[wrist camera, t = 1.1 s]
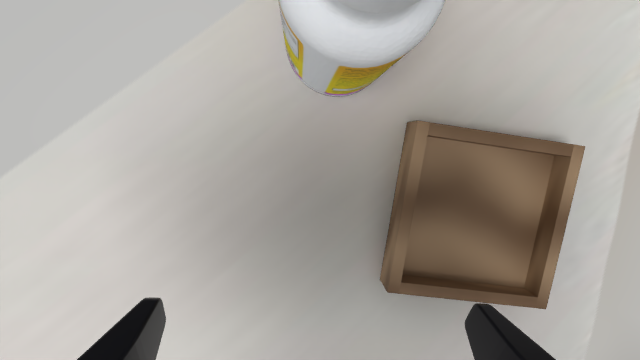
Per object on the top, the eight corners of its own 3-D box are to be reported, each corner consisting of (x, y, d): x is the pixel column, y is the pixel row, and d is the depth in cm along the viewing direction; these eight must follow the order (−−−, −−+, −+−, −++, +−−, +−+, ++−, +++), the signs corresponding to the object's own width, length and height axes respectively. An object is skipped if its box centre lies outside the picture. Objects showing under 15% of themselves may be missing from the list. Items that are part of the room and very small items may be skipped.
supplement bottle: (403, 33, 21) (562, -127, 8) (349, 116, 22) (421, 84, 9) (321, -29, 20) (358, -310, 8) (266, 59, 21) (214, -67, 8)
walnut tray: (525, 295, 24) (546, 309, 22) (379, 279, 23) (387, 292, 21) (560, 145, 23) (585, 146, 21) (407, 122, 22) (417, 120, 20)
